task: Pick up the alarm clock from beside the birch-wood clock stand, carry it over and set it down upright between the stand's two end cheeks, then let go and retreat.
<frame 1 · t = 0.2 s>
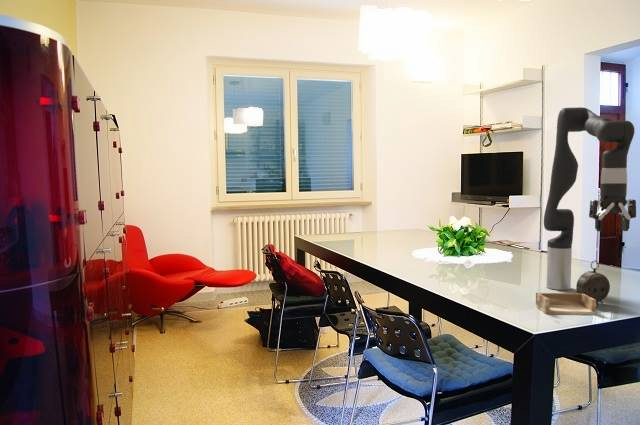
hand: (611, 231, 167), 29 cm above the table, fingers open, 8 cm apart
alarm clock: (593, 305, 184), on the table
clock stand: (564, 310, 177), on the table
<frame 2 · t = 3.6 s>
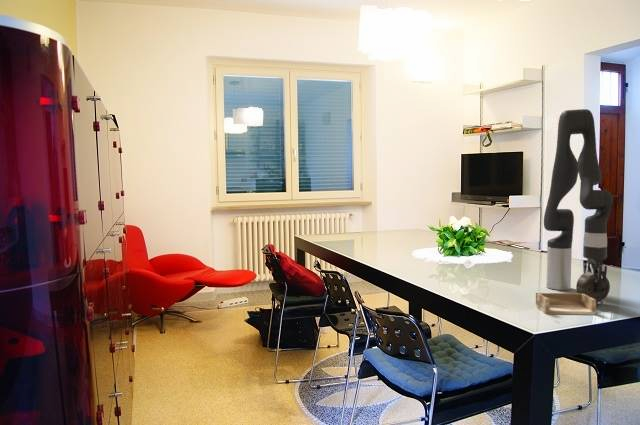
hand: (593, 290, 184), 5 cm above the table, fingers closed on alarm clock, 6 cm apart
alarm clock: (593, 305, 184), on the table, touching gripper
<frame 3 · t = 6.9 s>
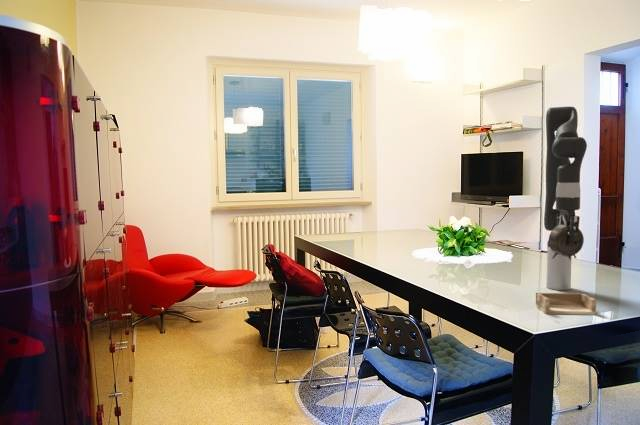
hand: (566, 244, 175), 23 cm above the table, fingers closed on alarm clock, 5 cm apart
alarm clock: (566, 259, 175), point 18 cm above the table, touching gripper
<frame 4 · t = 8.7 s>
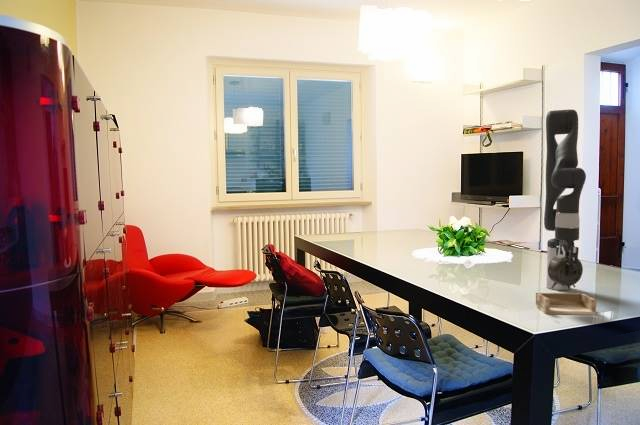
hand: (566, 274, 175), 13 cm above the table, fingers closed on alarm clock, 5 cm apart
alarm clock: (565, 289, 176), point 8 cm above the table, touching gripper
when the fingers open (7 cm above the table, at t = 10.4 s): alarm clock stays where it is, resting on clock stand.
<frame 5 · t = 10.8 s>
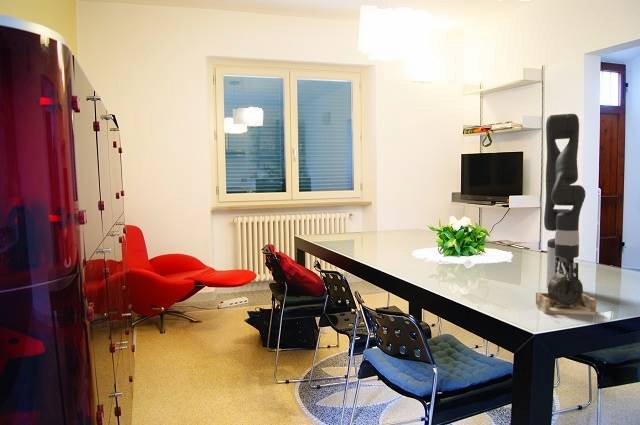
hand: (565, 289, 176), 8 cm above the table, fingers open, 8 cm apart
alarm clock: (565, 308, 176), point 1 cm above the table, touching clock stand
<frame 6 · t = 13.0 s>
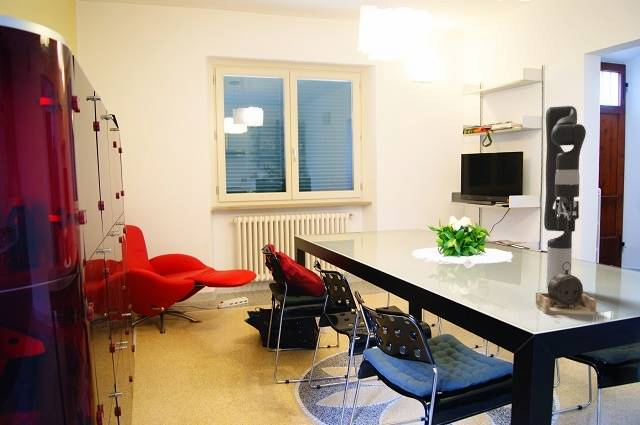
hand: (566, 230, 175), 28 cm above the table, fingers open, 8 cm apart
nothing on the table moved.
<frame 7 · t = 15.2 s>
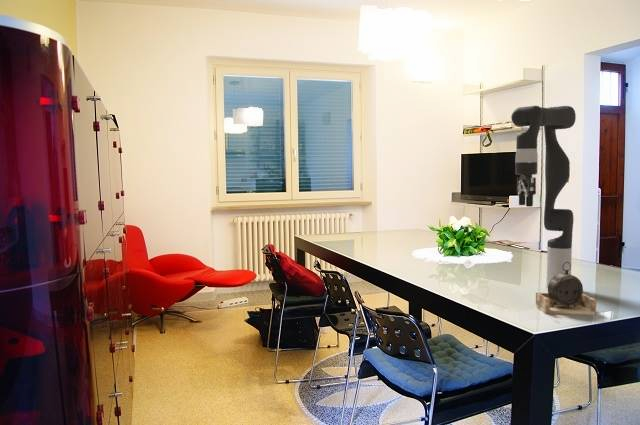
hand: (525, 205, 186), 36 cm above the table, fingers open, 8 cm apart
nothing on the table moved.
at the end: alarm clock 0.1 cm off-centre on the clock stand, point 0.8 cm above the clock stand's base; alarm clock tilted 0°; the gripper is holding nothing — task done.
